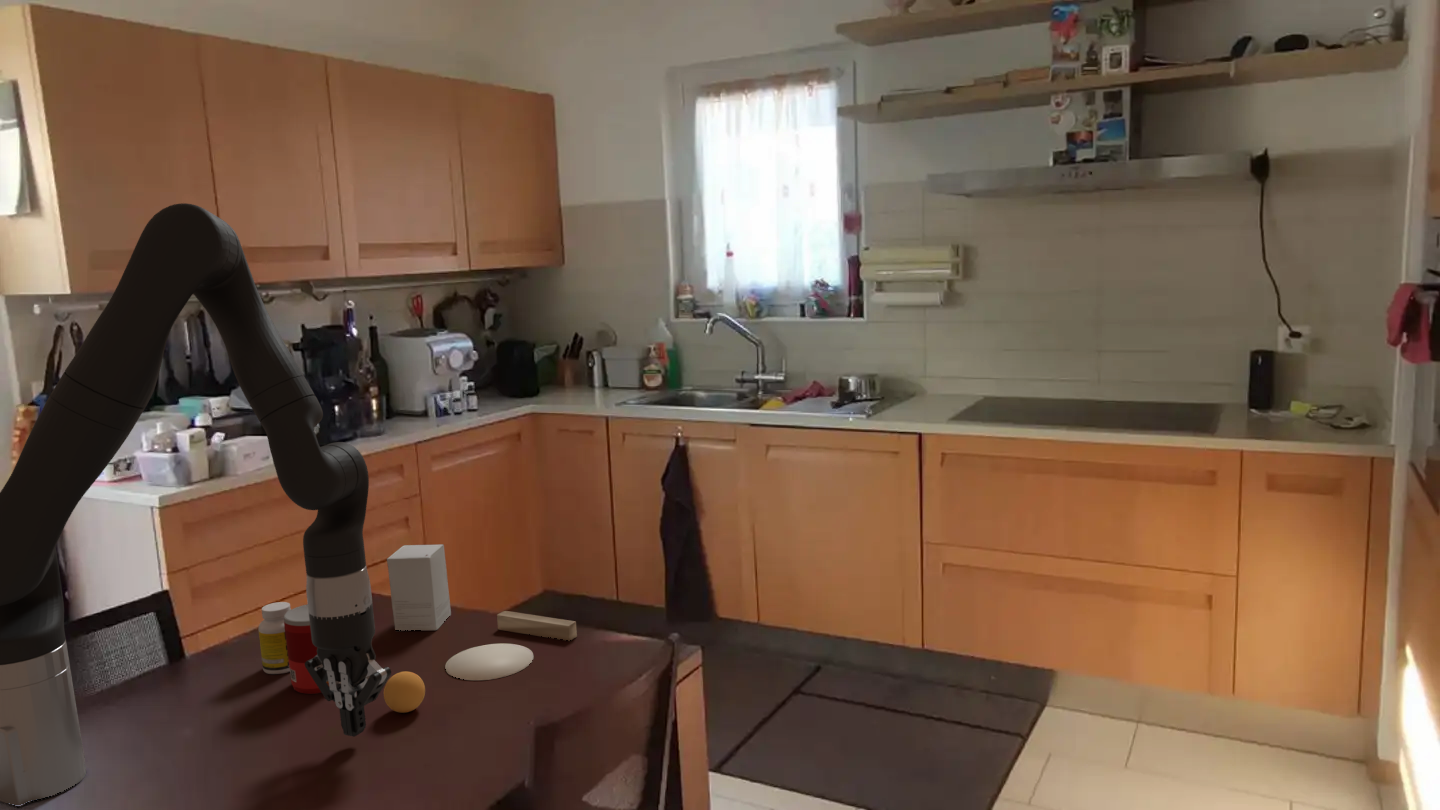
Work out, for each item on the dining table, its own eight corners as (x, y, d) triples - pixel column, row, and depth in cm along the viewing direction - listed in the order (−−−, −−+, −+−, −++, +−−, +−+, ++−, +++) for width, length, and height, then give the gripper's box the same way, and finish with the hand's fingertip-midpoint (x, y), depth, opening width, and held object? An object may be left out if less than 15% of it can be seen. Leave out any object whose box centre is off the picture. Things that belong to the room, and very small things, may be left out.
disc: (497, 686, 148) (497, 684, 148) (426, 672, 154) (426, 671, 154) (550, 651, 160) (550, 650, 160) (482, 640, 165) (482, 638, 165)
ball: (437, 694, 144) (415, 723, 139) (405, 690, 146) (382, 718, 141) (426, 665, 141) (403, 693, 137) (393, 660, 143) (370, 688, 139)
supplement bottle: (292, 674, 155) (285, 612, 154) (256, 676, 155) (249, 613, 154) (307, 659, 161) (300, 599, 159) (272, 661, 161) (265, 600, 159)
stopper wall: (569, 641, 163) (568, 625, 163) (498, 629, 170) (496, 614, 169) (576, 636, 165) (575, 621, 165) (505, 625, 171) (504, 610, 171)
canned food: (330, 696, 147) (322, 622, 145) (280, 693, 149) (271, 620, 147) (359, 673, 155) (351, 602, 153) (311, 671, 156) (302, 601, 154)
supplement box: (452, 614, 177) (445, 543, 175) (436, 631, 170) (429, 557, 168) (410, 615, 178) (403, 543, 176) (393, 631, 171) (385, 557, 169)
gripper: (278, 607, 129) (293, 737, 132) (357, 621, 123) (371, 756, 126) (324, 587, 136) (338, 712, 139) (402, 599, 130) (415, 729, 133)
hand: (354, 733), depth 133 cm, fingers closed
